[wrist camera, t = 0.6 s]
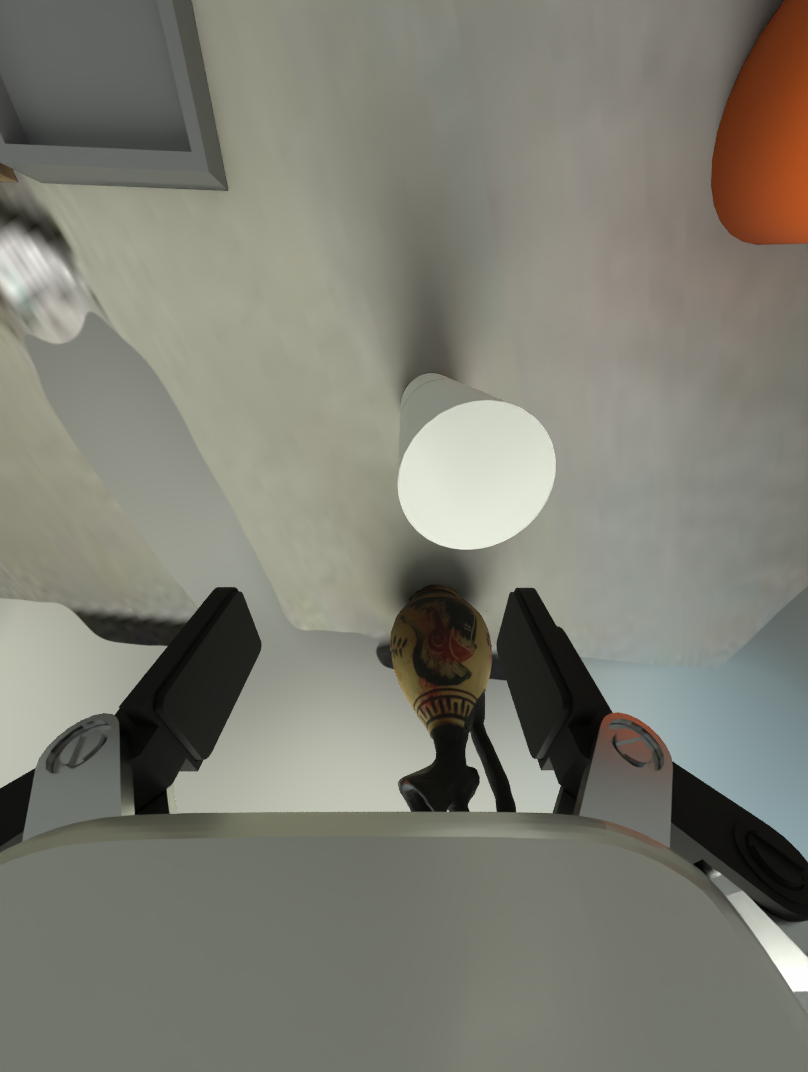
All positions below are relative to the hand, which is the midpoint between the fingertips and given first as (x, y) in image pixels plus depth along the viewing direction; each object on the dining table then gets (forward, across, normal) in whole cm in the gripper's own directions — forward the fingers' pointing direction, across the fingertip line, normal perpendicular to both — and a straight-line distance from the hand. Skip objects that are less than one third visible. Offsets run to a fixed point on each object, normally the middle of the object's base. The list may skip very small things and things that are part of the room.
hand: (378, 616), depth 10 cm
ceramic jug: (+30, -8, +30) cm, 43 cm away
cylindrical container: (+30, -4, -3) cm, 31 cm away
